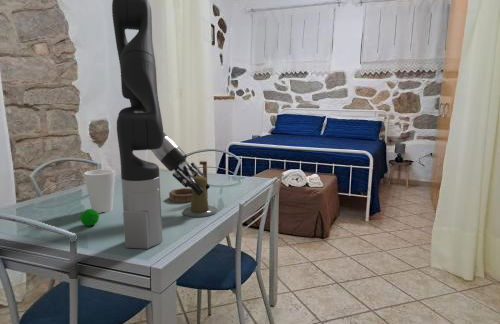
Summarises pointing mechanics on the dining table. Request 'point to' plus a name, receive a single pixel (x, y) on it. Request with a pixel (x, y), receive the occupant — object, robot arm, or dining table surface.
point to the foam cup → (100, 189)
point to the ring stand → (187, 189)
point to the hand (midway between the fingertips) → (204, 190)
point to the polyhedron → (89, 217)
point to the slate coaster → (210, 212)
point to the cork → (200, 196)
